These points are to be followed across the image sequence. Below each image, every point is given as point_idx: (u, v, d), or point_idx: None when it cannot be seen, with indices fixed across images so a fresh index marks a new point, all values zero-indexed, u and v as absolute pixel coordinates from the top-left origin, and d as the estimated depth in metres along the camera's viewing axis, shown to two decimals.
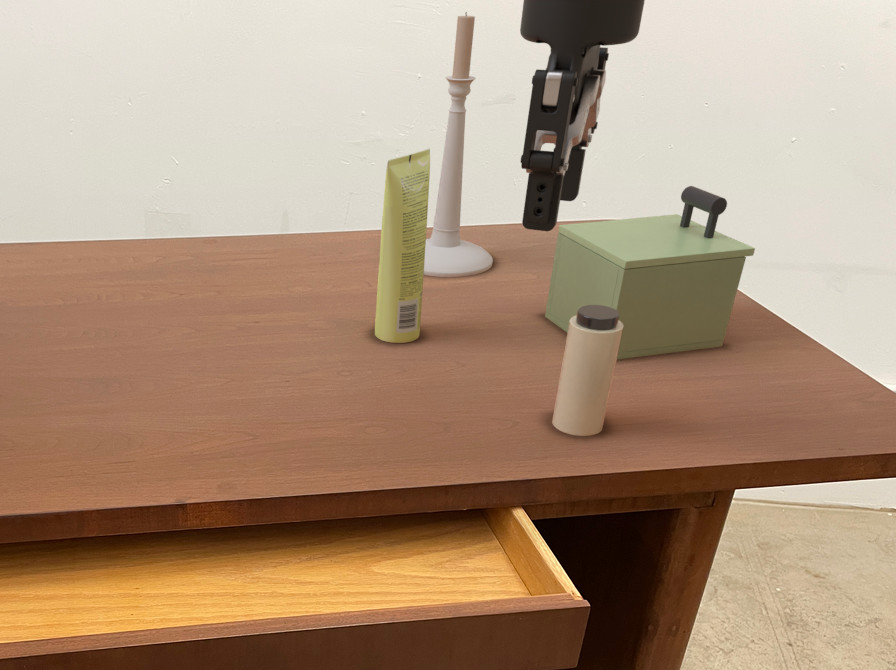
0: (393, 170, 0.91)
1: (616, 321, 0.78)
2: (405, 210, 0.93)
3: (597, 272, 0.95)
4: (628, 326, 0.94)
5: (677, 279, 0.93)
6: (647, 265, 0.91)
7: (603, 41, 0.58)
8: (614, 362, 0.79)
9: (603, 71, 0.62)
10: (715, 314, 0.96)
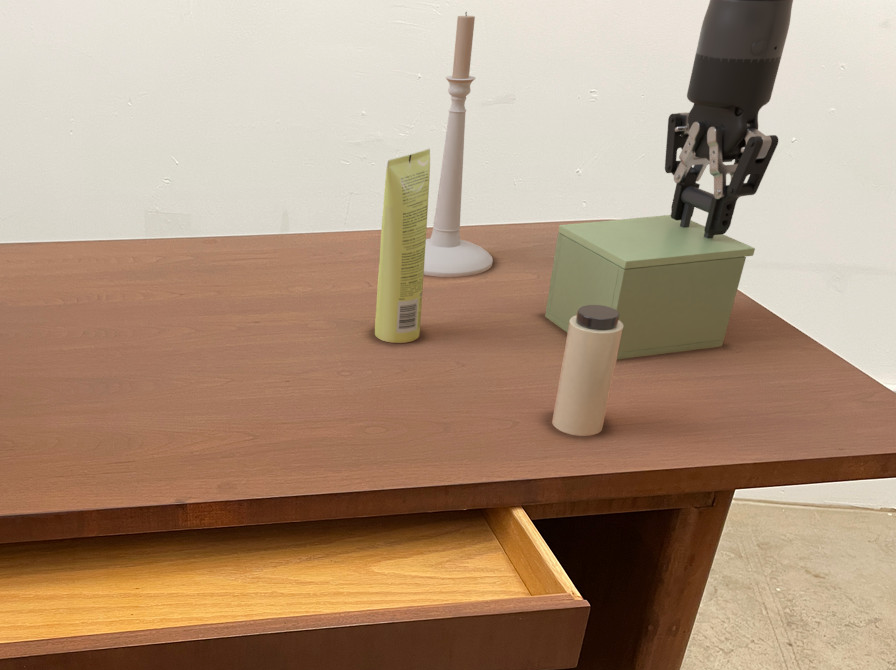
0: (393, 170, 0.91)
1: (616, 321, 0.78)
2: (405, 210, 0.93)
3: (597, 272, 0.95)
4: (628, 326, 0.94)
5: (677, 279, 0.93)
6: (647, 265, 0.91)
7: (766, 103, 0.89)
8: (614, 362, 0.79)
9: None
10: (715, 314, 0.96)
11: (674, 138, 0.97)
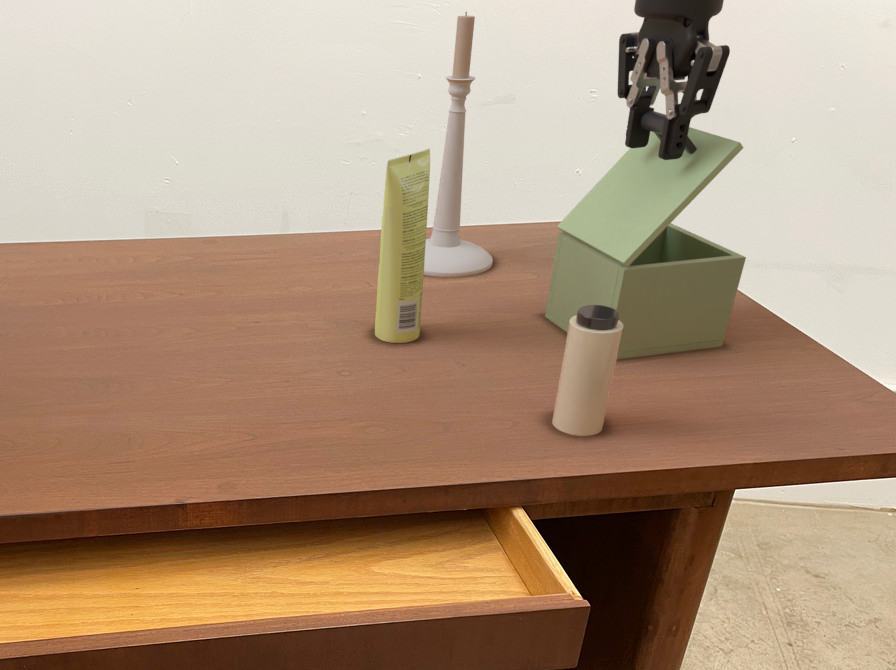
0: (393, 170, 0.91)
1: (616, 321, 0.78)
2: (405, 210, 0.93)
3: (597, 272, 0.95)
4: (628, 326, 0.94)
5: (677, 279, 0.93)
6: (646, 246, 0.90)
7: (717, 12, 0.83)
8: (614, 362, 0.79)
9: None
10: (715, 314, 0.96)
11: (625, 60, 0.92)
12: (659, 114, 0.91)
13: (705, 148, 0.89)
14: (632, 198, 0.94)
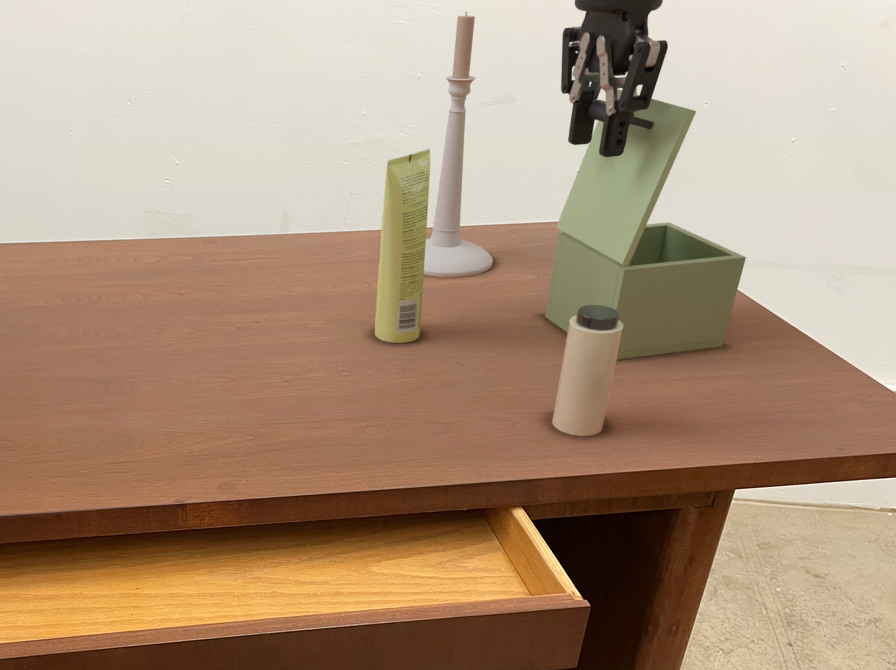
0: (393, 170, 0.91)
1: (616, 321, 0.78)
2: (405, 210, 0.93)
3: (597, 272, 0.95)
4: (628, 326, 0.94)
5: (677, 279, 0.93)
6: (638, 240, 0.89)
7: (657, 7, 0.82)
8: (614, 362, 0.79)
9: None
10: (715, 314, 0.96)
11: (568, 54, 0.90)
12: (602, 106, 0.89)
13: (661, 120, 0.87)
14: (611, 188, 0.93)
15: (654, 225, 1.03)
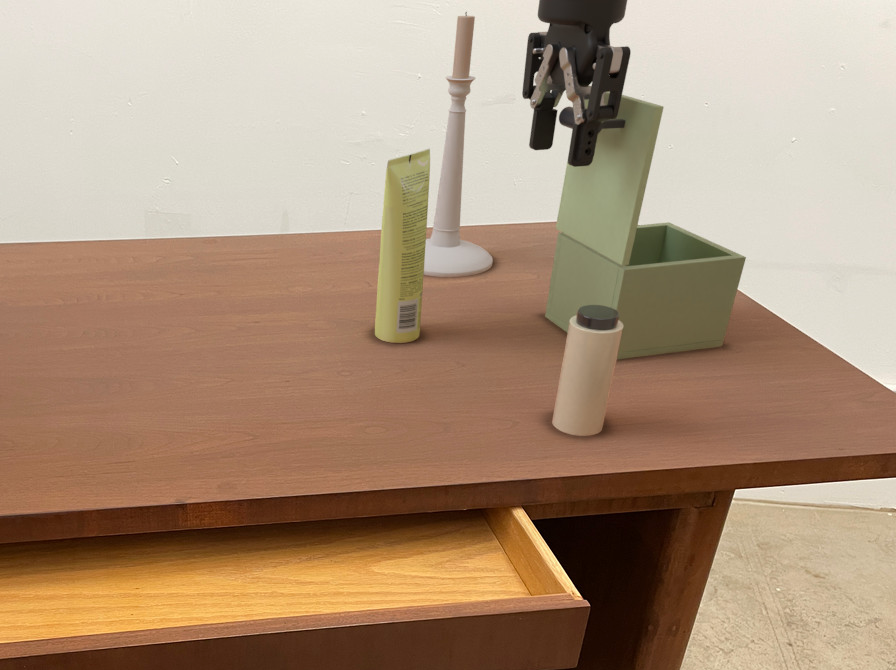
0: (393, 170, 0.91)
1: (616, 321, 0.78)
2: (405, 210, 0.93)
3: (597, 272, 0.95)
4: (628, 326, 0.94)
5: (677, 279, 0.93)
6: (633, 239, 0.89)
7: (619, 20, 0.81)
8: (614, 362, 0.79)
9: None
10: (715, 314, 0.96)
11: (531, 61, 0.90)
12: (571, 115, 0.88)
13: (631, 118, 0.86)
14: (599, 188, 0.92)
15: (654, 225, 1.03)
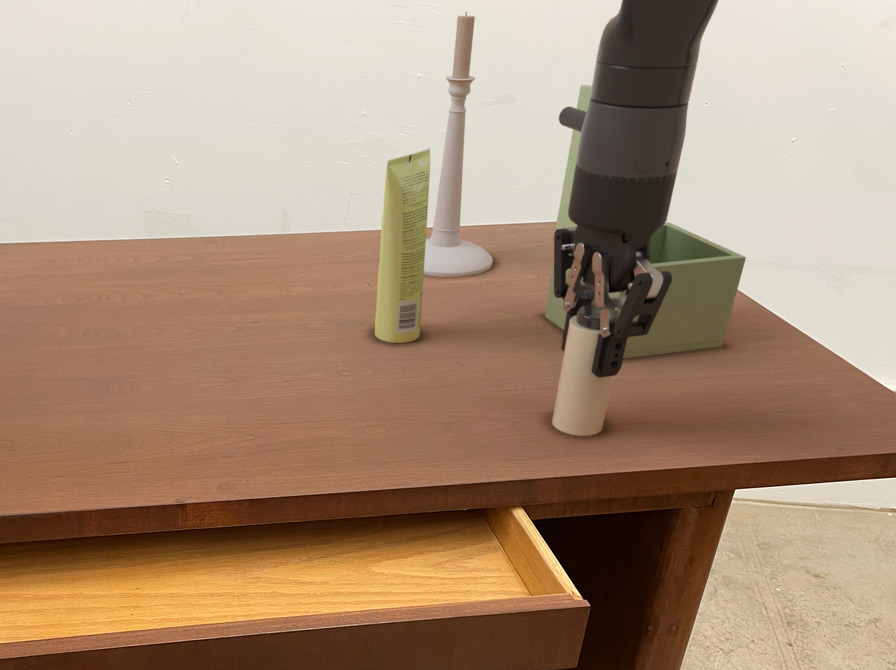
0: (393, 170, 0.91)
1: None
2: (405, 210, 0.93)
3: None
4: None
5: (677, 279, 0.93)
6: None
7: (661, 226, 0.72)
8: None
9: None
10: (715, 314, 0.96)
11: (561, 258, 0.81)
12: (571, 115, 0.88)
13: None
14: None
15: None
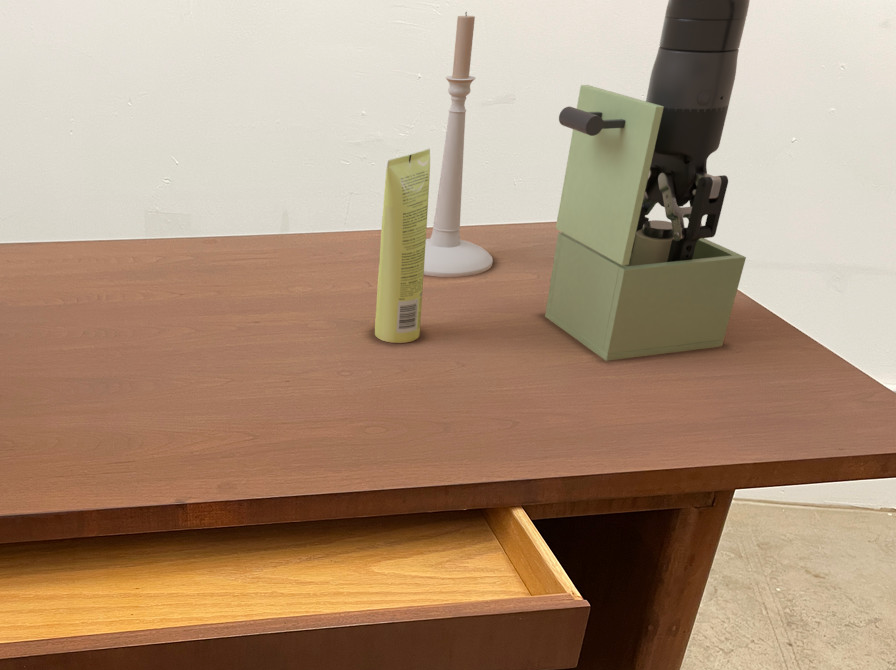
0: (393, 170, 0.91)
1: None
2: (405, 210, 0.93)
3: (597, 272, 0.95)
4: (628, 326, 0.94)
5: (677, 279, 0.93)
6: (633, 239, 0.89)
7: (715, 150, 0.90)
8: None
9: None
10: (715, 314, 0.96)
11: None
12: (571, 115, 0.88)
13: (631, 118, 0.86)
14: (599, 188, 0.92)
15: None
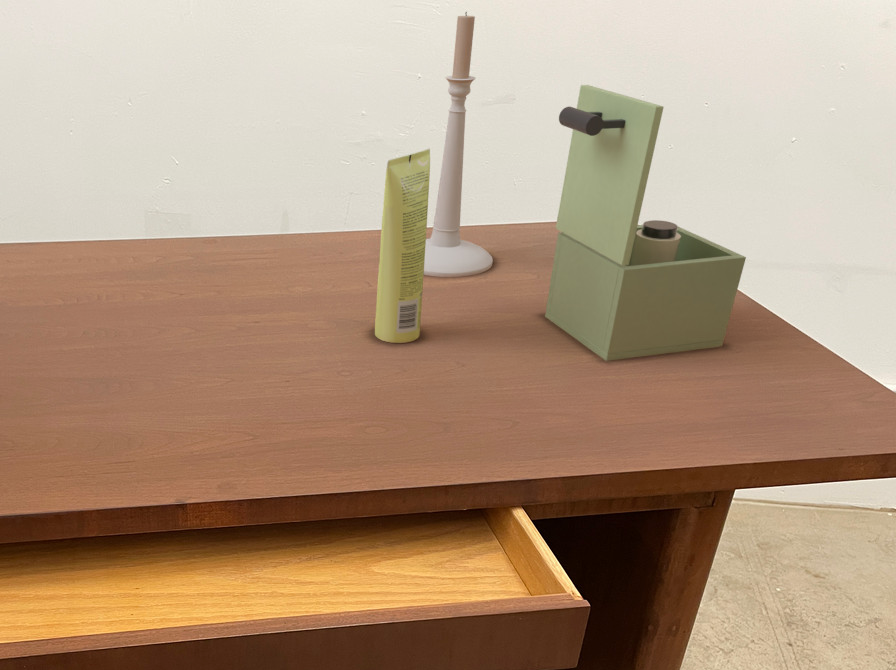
0: (393, 170, 0.91)
1: (675, 231, 0.95)
2: (405, 210, 0.93)
3: (597, 272, 0.95)
4: (628, 326, 0.94)
5: (677, 279, 0.93)
6: (633, 239, 0.89)
7: None
8: None
9: None
10: (715, 314, 0.96)
11: None
12: (571, 115, 0.88)
13: (631, 118, 0.86)
14: (599, 188, 0.92)
15: None
